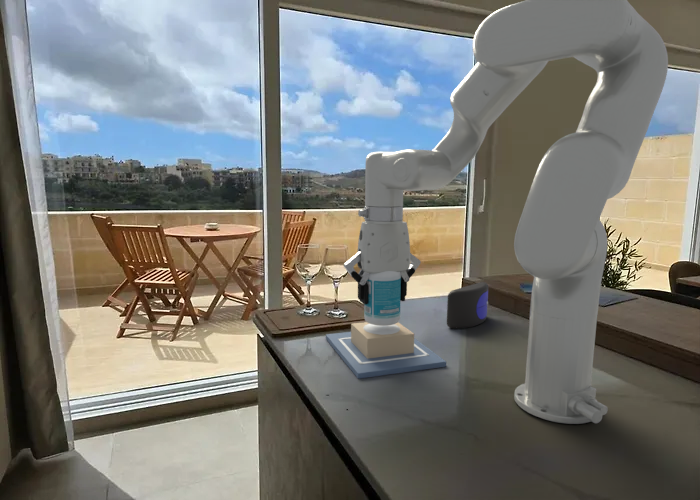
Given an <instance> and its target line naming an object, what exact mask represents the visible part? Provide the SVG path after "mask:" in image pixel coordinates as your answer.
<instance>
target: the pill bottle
mask: <svg viewBox="0 0 700 500" xmlns="http://www.w3.org/2000/svg"><path fill="white" fill-rule="evenodd" d="M366 285H368V304H365V305H364V304H363V305H364V307H363V311H364V312H363V313H364V314H363V315H364V317H363V318H364V322H368V323H370V324H373V325H379V326H387V325H393V324H396V323H398V322H399V323H400V321H401V300H400V296H401V273H400V272H395V271H385V272H380V273H375V274H371V273H370V276H369V278H368V280H367V282H366Z"/></svg>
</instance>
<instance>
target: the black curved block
mask: <svg viewBox="0 0 700 500" xmlns="http://www.w3.org/2000/svg"><path fill="white" fill-rule="evenodd" d="M488 299H489V285H488V283H487V282H485V281H480V282H477V283H474V284H469V285H466V286H463V287H460V288H457V289H452V290H451V291H449V293H448V294H447V301H446V303H447V306H446V325H447V327H448V328H449V329H451V330H452V329H454V330H460V329H468V328H472V327H476V326H478V325H481V324H483V322H485V321H486V319H487V316H488V305H489V301H488Z"/></svg>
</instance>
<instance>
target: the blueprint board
mask: <svg viewBox="0 0 700 500" xmlns="http://www.w3.org/2000/svg"><path fill="white" fill-rule="evenodd" d="M325 340H326V341H327V342H328V344H329V345H330V346H331V347H332V348H333V350H334V351H335V352H336V354H337V355H338V356H339V357H340V358H341V359H342V361H343V362H344V363H345V364H346V366H347V367H348V368H349V370H350V371H351V372H352V373H353V374H354V376H355V377H356V378H357V379H358V380H359V379H365V378H371V377H372V378H373V377H379V376H386V375H388V376H389V375H393V374H395V375H396V374H402V373H408V372H415V371H417V372H418V371H424V370H430V369H436V368H437V369H438V368H444V367H447V361H446V360H445V359H444V358H442V357H441V356H439V355H438V354H437V353H435V352H434V351H432V350H431V349H430V348H429V347H427V346H426V345H424V343H422V342H421V341H419V340H418V339H416V338H415V333H414V332H412V331H411V330H410V329H408V328H407V327H405V325H403V324H402V323H400V321H399V322H398V323H396V324H393V325H387V326H379V325H373V324H370V323H368V322H366V321H364V322H356V323H355V322H353V323H350V331H346V332H338V333H326V334H325Z"/></svg>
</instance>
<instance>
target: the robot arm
mask: <svg viewBox="0 0 700 500" xmlns="http://www.w3.org/2000/svg"><path fill="white" fill-rule="evenodd" d="M472 51H473V56H474V58H475V60H476V61H477V62H476V63H475V65H474V66H473V67H472V68H471V69H470V71H469V72H468V73H467V74H466V75H465V76H464V78H463V79H462V80H461V82H460V83H459V84H458V85H457V86H456V87H455V88H454V90H453V91H452V92H451V94H450V96H449V97H450V98H449V101H450V106H451V108H452V110H453V119H452V120H453V121H452V123H451V126H450V128H449V130H448V131H447V133H446V134H445V135H444V137H443V138H442V139H441V140H440V141H439V142H438V143H437V145H435V147H433V149H431V150H429V149H428V150H427V149H414V148H409V149H401V150H397V151H373V152H370V153H368V154H367V155H366V157H365V169H364V171H365V174H364V175H365V181H364V182H365V187H364V191H365V192H364V206H363V208H362V209H359V210H358V211H357V213H358V215H357V216H358V217H360V218H363V219H364V221H362V222H361V226H360V229H359V235H358V242H357V252H356V253H355V254H354V255H353V256H352V257H350V258H349V259H348V260H346V262H344V263H343V268H344V269H345V270H346V272H347V273H348V274H349V275H350V277H351V278H352V279H354V280H355V282H357V298H358V300H359V302H361V304H363V305H365V304H368V285H366V282H367V280H368V278H369V276H370V273H371V274H375V273H380V272H385V271H395V272H400V273H401V296H400V302H406V296H407V293H408V288H407V287H408V282H409V281H410V278H412V276H414V274H415V273H416V271H417V269H418V268H419V266H420V265H421V260H420V259H419V258H418V257H416V256H415V255H413V254H412V253H411V245H410V235H409V234H410V233H409V228H408V227H409V226H408V224H407V223H408V222H406V221H403V218H404V216H403V215H404V211H403V210H404V192H405V191H408V192H417V191H418V192H419V191H420V192H421V191H436V190H440V189H442V188H444V187H445V186H448V185H449V184H450V183H452V181H453V180H455V179H456V178H457V176H458V175H459V174H460V173H461V172H462V171H463V170H464V169H465V168H466V167H467V166H468V165H469V164H470V163H471V161H473V160H474V158H475V157H476V155H477V154H478V152H479V150H480V148H481V145H482V144H483V142H484V140H485V139H486V135H487V133H488V130H489V128H490V127H491V126H492V125H493V124H494V122H495V121H496V120H497V119H498V118H499V117H500V116H501V115H502V114H503V112H504V111H505V110H506V109H507V108H508V107H509V106H510V105H511V104H512V103H513V102H514V101H515V99H516V98H517V97H518V96H519V95H520V94H521V93H522V92H523V91H524V90H525V89H526V88H527V87H528V86H529V85H530V84H531V82H532V81H533V80H534V79H535V78H536V77H537V76H538V75H539V74H540V73H541V72H542V71H543V70H544V69H545V67H546V66H547V64H548V63H549V61H550V62H551V61H556V60H562V59H567V58H568V59H569V58H574V59H576V60H577V61H579V62H581V63H583V64H584V65H586V66H589V67H590V68H592V69H593V70H595V72H596V74H597V78H596V79H597V80H596V83H595V85H594V87H593V89H592V91H591V92H590V94H589V96H588V99H587V101H586V103H585V106H584V108H583V112H582V116H581V119H580V121H579V123H578V126H577V129H576V130H575V132H572V133H569V134H567V135H564V136H562V137H560V138H559V139H557V140H556V141H555V142H554V143H553V144H552V145H550V147H549V148H548V149H547V151H546V152H545V153H544V155H543V156H542V158H541V160H540V162H539V165H538V166H537V169H536V172H535V175H534V178H533V180H532V183H531V186H530V189H529V192H528V194H527V197H526V200H525V203H524V207H523V209H522V212H521V215H520V217H519V221H518V224H517V227H516V231H515V234H514V239H513V240H514V241H513V242H514V243H513V248H514V254H515V257H516V260H517V262H518V263H519V265H520V267H521V268H522V269H523V270H524V271H525V272H526V273H528V274H529V275H531V276H532V277H533V281H532V288H531V294H530V296H531V297H530V307H529V319H528V320H529V321H528V322H529V323H528V337H527V351H526V354H527V355H526V365H525V378H524V379H525V380H524V383H521V384H520V385H517V387H515V390H514V395H513V396H514V397H513V399H514V401H515V403H516V404H517V405H518V407H519V408H521V409H522V410H523V411H525V412H526V413H528V414H530V415H532V416H534V417H538V418H540V419H542V420H546V421H550V422H553V423H558V424H565V425H566V424H569V425H579V424H586V423H590V422H592V423H594V424H598V423H600V422H601V421H602V419H603V416H604V415H607V413H608V410H609V408H608V406H607V405H605V404H603V403H601V402H600V401H598V399H596V396H597V395H596V394H597V393H596V392H597V388H596V387H593V386H592V375H593V365H594V355H595V342H596V331H597V321H598V314H599V306H600V305H599V303H600V294H601V286H602V281H603V280H602V279H603V274H604V269H605V264H606V259H607V253H608V252H607V250H608V236H607V232H606V229H605V226H604V225H603V223H602V222H601V220H600V218H601V216H602V213H603V211H604V209H605V205H606V203H607V201H608V200H609V199H612V198H614V197H615V196H617V195H618V194H620V193H621V191H622V190H624V188H625V187H626V185H627V184H628V181H629V179H630V177H631V174H632V170H633V168H634V166H635V162H636V160H637V156H638V154H639V152H640V150H641V147H642V144H643V142H644V140H645V137H646V135H647V132H648V129H649V126H650V123H651V120H652V118H653V116H654V112H655V110H656V107H657V105H658V103H659V100H660V98H661V94H662V92H663V89H664V86H665V83H666V80H667V76H668V70H669V56H668V51H667V46H666V44H665V42H664V40H663V38H662V36H661V35H660V33H659V32H658V31H657V30H656V29H655V28H654V27H653V26H652V25H651V24H650V23H649V22H648V21H647V20H646V19H645V18H643V16H642V15H641V14H639V13H638V12H637V10H636V9H635V7H633V6H632V4H630V2H629V1H628V0H523V1H520V2H519V1H518V2H516V3H512V4H509V5H507V6H504V7H502V8H499V9H497V10H495V11H494V12H492V13H491V14H490V15H488V16H487V17H486V18H485V19H484V20H483V21H482V22H481V23H480V24H479V26H478V27H477V29H476V31H475V32H474V37H473V40H472ZM356 265H357V267H358V269H360V270H359V272H357V270H356V269H355V268H354V267H355V266H356Z"/></svg>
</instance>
